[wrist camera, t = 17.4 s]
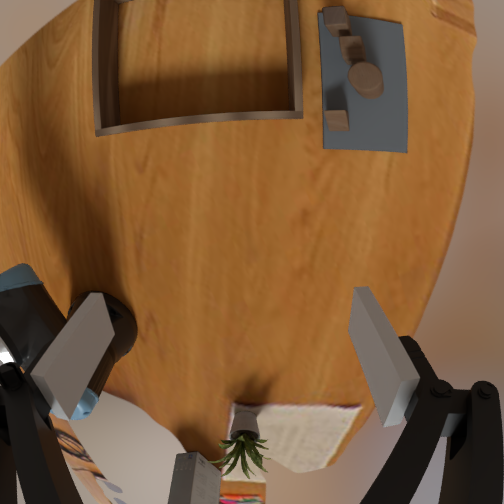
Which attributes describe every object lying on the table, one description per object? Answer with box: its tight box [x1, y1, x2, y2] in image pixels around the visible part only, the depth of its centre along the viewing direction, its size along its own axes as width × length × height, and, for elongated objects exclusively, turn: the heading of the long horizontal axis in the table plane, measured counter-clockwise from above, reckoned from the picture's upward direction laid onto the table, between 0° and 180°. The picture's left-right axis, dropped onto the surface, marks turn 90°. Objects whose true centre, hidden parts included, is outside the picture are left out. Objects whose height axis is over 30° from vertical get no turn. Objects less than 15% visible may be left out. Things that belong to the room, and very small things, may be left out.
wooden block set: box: [322, 6, 384, 131], centre depth 36 cm, size 18×9×10 cm, turn 5°
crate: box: [92, 0, 303, 137], centre depth 36 cm, size 28×24×7 cm
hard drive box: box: [168, 452, 221, 504], centre depth 71 cm, size 16×8×20 cm, turn 23°
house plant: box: [207, 411, 269, 479], centre depth 62 cm, size 14×14×16 cm
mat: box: [317, 13, 408, 153], centre depth 41 cm, size 14×22×1 cm, turn 2°
